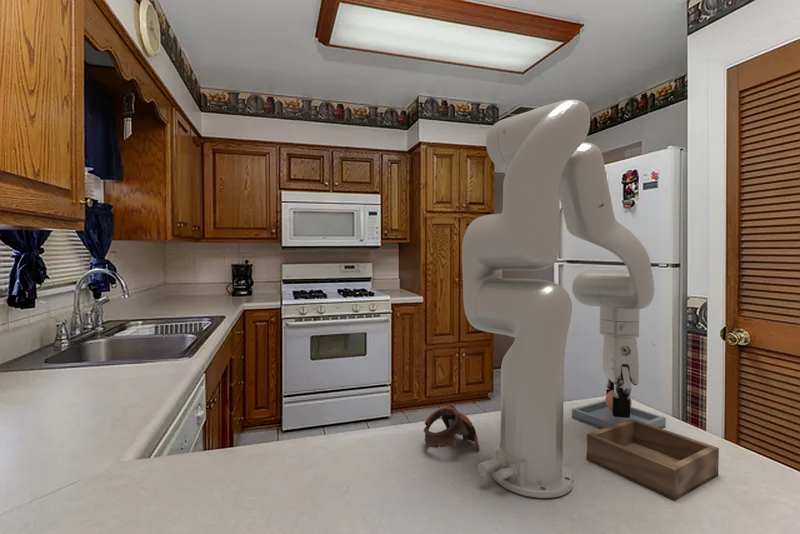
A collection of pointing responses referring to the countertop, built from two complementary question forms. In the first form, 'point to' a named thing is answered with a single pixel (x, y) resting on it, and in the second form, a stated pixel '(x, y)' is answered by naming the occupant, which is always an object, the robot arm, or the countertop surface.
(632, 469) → the bin
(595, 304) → the robot arm
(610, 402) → the ball
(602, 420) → the tray
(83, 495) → the countertop surface
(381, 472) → the countertop surface
